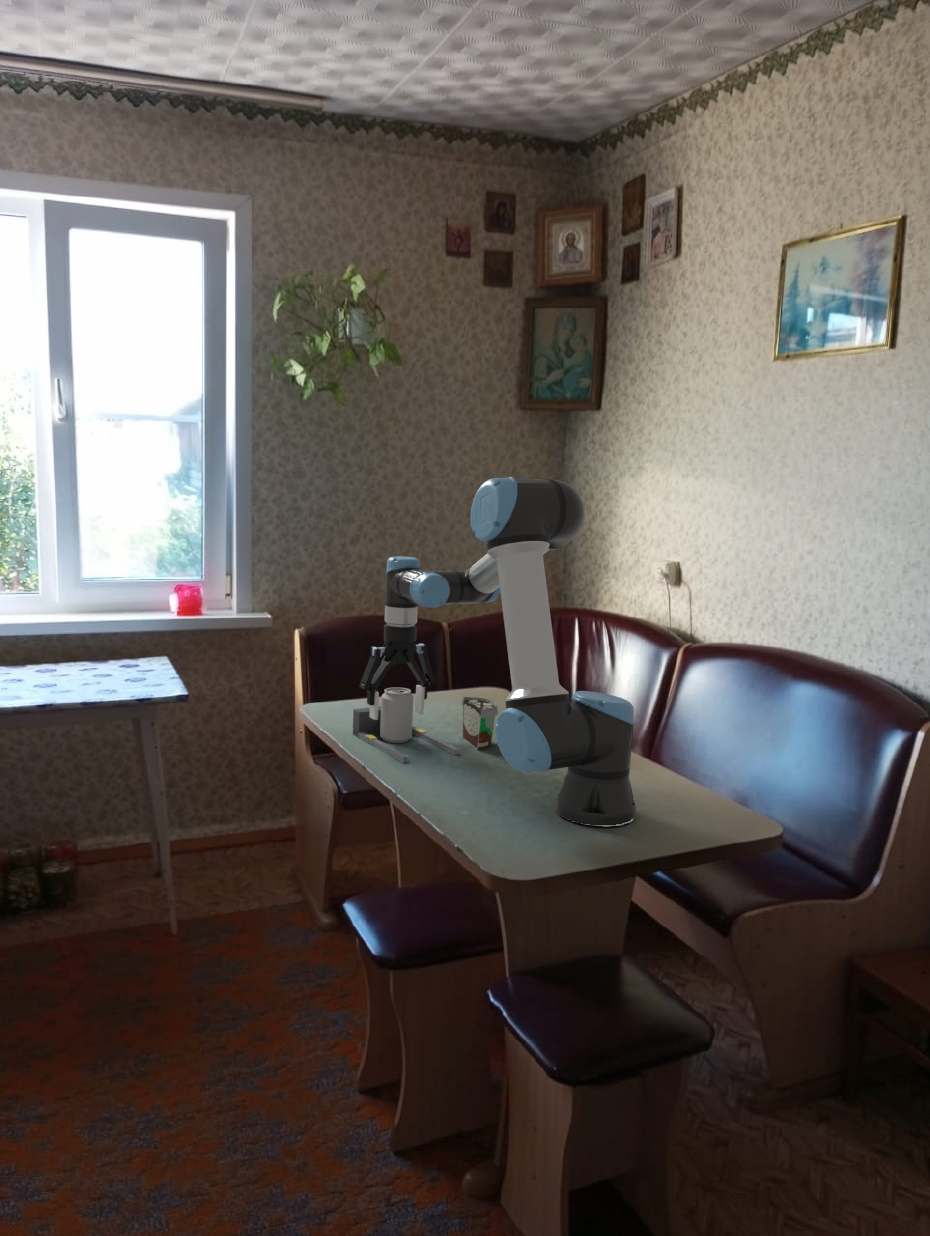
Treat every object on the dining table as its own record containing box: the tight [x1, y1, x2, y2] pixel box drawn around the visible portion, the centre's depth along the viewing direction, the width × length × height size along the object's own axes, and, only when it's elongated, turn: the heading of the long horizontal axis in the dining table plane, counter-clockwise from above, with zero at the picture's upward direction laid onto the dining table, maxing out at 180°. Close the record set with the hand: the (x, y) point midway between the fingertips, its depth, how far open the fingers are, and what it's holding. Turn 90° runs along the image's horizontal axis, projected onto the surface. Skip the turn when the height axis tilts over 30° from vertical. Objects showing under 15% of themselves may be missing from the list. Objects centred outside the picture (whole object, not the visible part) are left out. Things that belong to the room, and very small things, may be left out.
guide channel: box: [352, 705, 460, 764], centre depth 221 cm, size 24×15×6 cm, turn 33°
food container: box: [461, 696, 499, 751], centre depth 224 cm, size 12×6×10 cm, turn 22°
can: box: [379, 687, 414, 744], centre depth 224 cm, size 8×8×12 cm
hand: (396, 715), depth 224 cm, fingers open, 11 cm apart
